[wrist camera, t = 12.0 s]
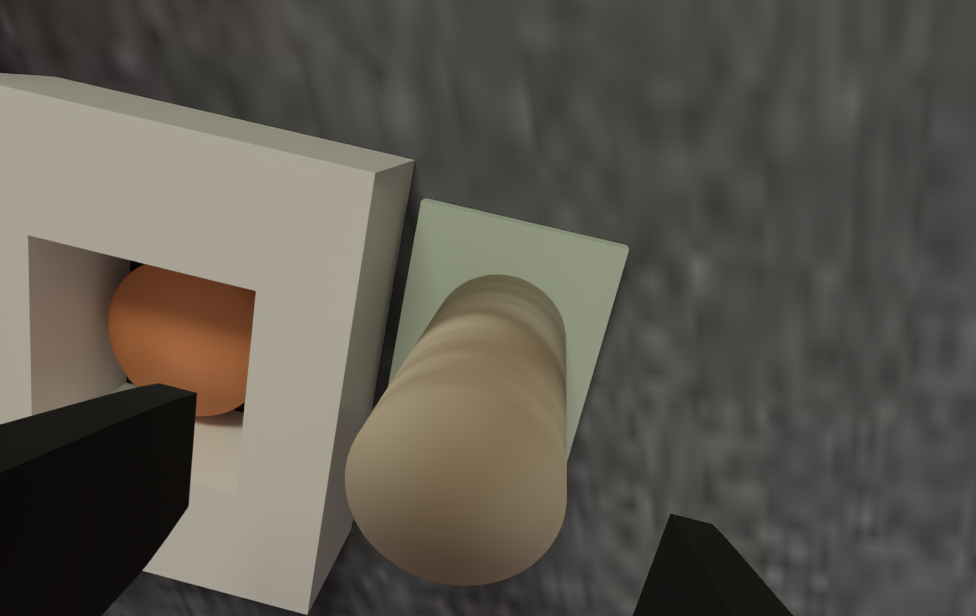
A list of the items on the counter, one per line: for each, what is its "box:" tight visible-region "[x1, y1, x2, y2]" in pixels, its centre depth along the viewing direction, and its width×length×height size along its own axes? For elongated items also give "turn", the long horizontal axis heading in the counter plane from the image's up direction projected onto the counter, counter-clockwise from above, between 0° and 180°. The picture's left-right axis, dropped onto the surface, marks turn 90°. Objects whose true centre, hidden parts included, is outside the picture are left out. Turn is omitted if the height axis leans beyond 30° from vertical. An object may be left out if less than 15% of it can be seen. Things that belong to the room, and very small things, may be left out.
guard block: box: [0, 73, 415, 615], centre depth 19 cm, size 11×13×4 cm
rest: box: [388, 198, 629, 460], centre depth 19 cm, size 6×7×1 cm
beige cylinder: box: [345, 275, 567, 586], centre depth 15 cm, size 4×4×8 cm
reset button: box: [108, 264, 256, 416], centre depth 19 cm, size 5×5×1 cm
